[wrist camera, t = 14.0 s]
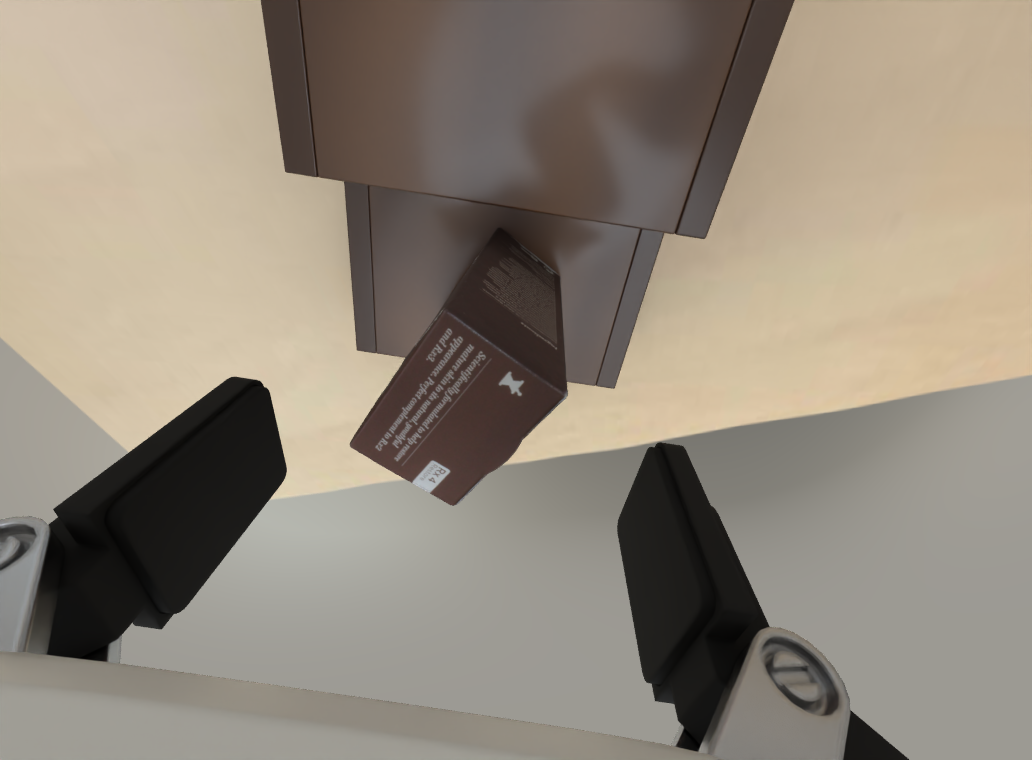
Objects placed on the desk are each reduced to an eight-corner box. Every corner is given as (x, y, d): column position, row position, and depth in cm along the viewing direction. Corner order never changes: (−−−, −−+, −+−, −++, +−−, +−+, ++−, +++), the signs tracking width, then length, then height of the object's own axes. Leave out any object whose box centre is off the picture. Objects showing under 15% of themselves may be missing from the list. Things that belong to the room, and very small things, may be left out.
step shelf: (695, 31, 20) (816, -57, 11) (603, 352, 29) (630, 441, 20) (372, -25, 19) (236, -162, 11) (384, 319, 28) (316, 395, 20)
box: (493, 220, 20) (444, 304, 10) (562, 276, 21) (584, 402, 11) (432, 310, 22) (340, 451, 12) (496, 354, 24) (463, 517, 13)
